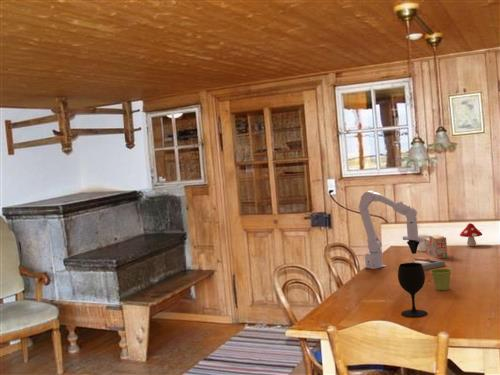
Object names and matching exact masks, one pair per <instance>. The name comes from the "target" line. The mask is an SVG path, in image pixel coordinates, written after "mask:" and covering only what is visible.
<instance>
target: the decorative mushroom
mask: <svg viewBox="0 0 500 375" xmlns="http://www.w3.org/2000/svg"><path fill="white" fill-rule="evenodd" d="M459 236H460V237H463V238H467V243H466V244H467V246H468V247H475V246H476V245H477V242H476V237H477V238H478V237H481V236H483V233H482V232H481V231H480V229H478V228H477V227H476V226H475V224H473V223H471V222H470V223H468V224H466V226H465V228H464V229H462V231H461V232H460V234H459Z"/></svg>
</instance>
